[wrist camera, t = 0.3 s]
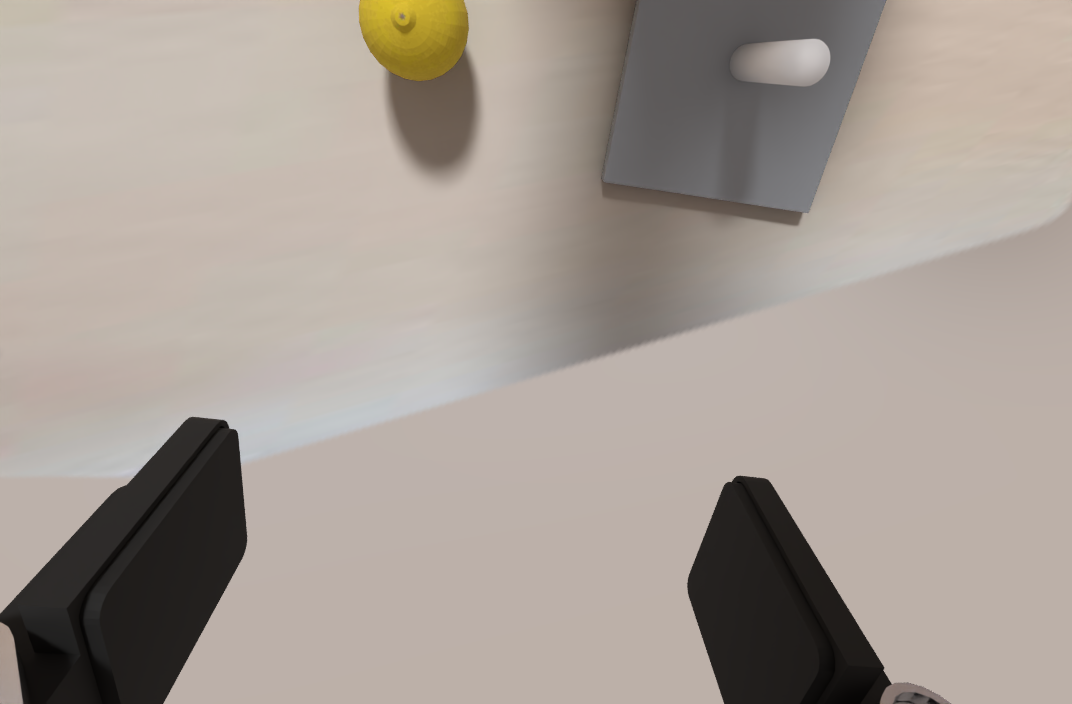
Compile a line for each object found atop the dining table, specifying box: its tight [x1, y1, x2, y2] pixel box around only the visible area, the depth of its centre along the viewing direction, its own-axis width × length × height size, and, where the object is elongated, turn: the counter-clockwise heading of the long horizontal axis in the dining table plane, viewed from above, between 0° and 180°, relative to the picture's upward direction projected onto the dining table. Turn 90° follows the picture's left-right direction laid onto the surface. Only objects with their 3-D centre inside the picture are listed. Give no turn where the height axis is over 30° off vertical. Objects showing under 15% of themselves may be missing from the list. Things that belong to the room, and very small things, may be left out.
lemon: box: [359, 0, 469, 81], centre depth 30 cm, size 6×6×8 cm
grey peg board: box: [601, 0, 886, 213], centre depth 31 cm, size 16×14×9 cm
